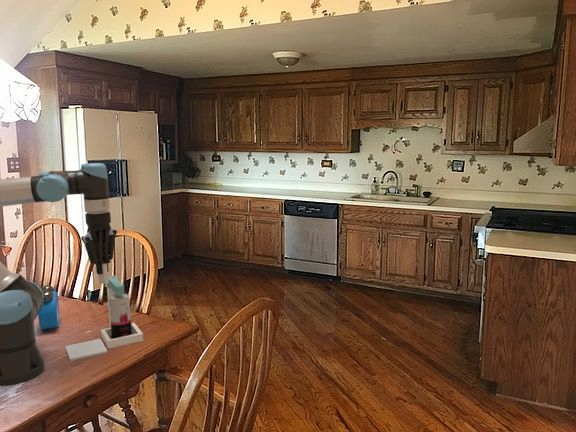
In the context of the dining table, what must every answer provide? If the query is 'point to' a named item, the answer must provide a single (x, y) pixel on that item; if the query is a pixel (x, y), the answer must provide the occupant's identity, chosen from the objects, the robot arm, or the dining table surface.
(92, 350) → the mat
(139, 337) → the grey frame with post
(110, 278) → the bar
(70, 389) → the dining table surface
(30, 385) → the dining table surface
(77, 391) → the dining table surface
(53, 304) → the alarm clock
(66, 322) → the dining table surface
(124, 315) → the beverage can
